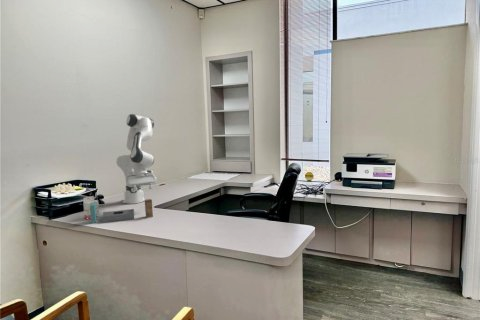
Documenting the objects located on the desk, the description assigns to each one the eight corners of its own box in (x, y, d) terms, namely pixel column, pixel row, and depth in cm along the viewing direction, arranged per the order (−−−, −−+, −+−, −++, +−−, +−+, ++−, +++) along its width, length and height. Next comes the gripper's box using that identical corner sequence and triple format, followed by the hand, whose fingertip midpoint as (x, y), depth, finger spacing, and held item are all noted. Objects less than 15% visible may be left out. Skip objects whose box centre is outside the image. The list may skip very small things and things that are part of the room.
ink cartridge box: (88, 219, 224) (87, 198, 222) (84, 218, 226) (82, 198, 225) (99, 216, 231) (98, 196, 229) (95, 215, 234) (93, 195, 232)
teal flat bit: (92, 220, 222) (91, 203, 221) (96, 220, 223) (95, 202, 221) (91, 223, 215) (89, 205, 214) (95, 222, 216) (94, 205, 215)
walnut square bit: (145, 216, 228) (144, 199, 226) (151, 215, 229) (150, 198, 228) (147, 217, 224) (145, 200, 223) (152, 216, 226) (151, 199, 224)
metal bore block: (104, 217, 227) (103, 212, 227) (134, 214, 233) (133, 209, 233) (102, 222, 216) (101, 216, 215) (134, 219, 222) (133, 213, 221)
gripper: (126, 173, 236) (129, 188, 229) (154, 170, 245) (158, 185, 238) (125, 178, 241) (128, 194, 233) (153, 175, 250) (157, 190, 242)
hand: (144, 189), depth 236 cm, fingers open, 8 cm apart
